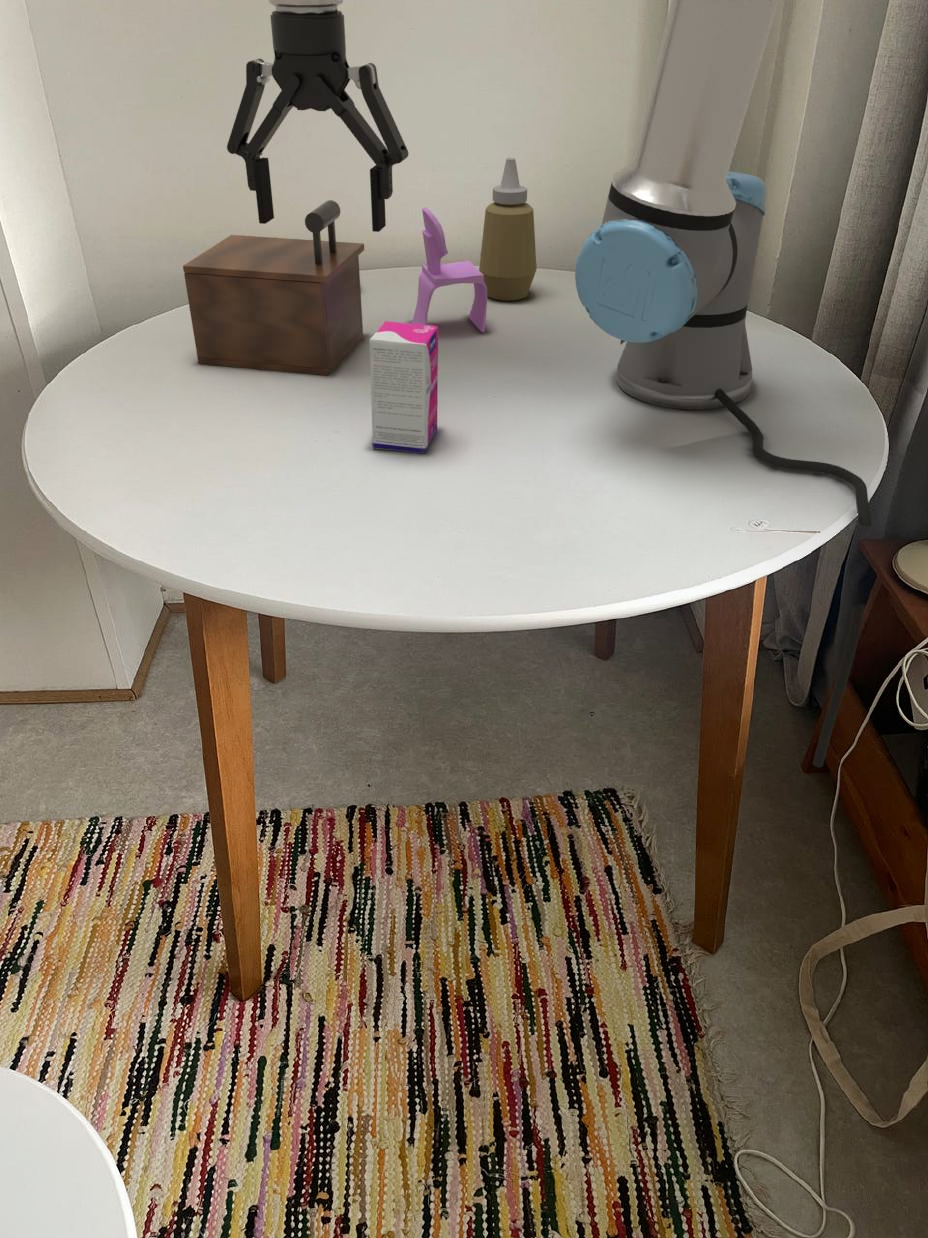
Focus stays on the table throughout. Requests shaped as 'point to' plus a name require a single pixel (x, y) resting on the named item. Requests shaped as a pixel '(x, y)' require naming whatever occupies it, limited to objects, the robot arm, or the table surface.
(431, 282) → the toy chair
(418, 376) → the supplement box
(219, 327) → the chest
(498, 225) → the squeeze bottle
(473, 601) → the table surface
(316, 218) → the lid
